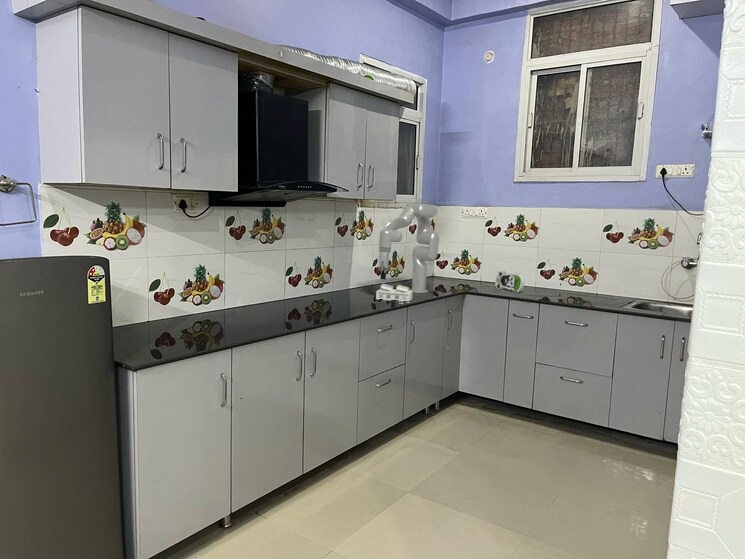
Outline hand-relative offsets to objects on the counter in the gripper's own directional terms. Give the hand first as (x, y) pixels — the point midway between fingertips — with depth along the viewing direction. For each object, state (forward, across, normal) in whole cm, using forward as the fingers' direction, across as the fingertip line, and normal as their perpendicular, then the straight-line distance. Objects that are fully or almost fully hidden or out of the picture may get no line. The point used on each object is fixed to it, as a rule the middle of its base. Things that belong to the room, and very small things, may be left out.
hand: (383, 279), depth 350 cm
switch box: (+12, -1, +8) cm, 14 cm away
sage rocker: (+5, -1, +13) cm, 14 cm away
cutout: (+10, -72, +81) cm, 109 cm away
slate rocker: (+5, -1, +3) cm, 6 cm away
